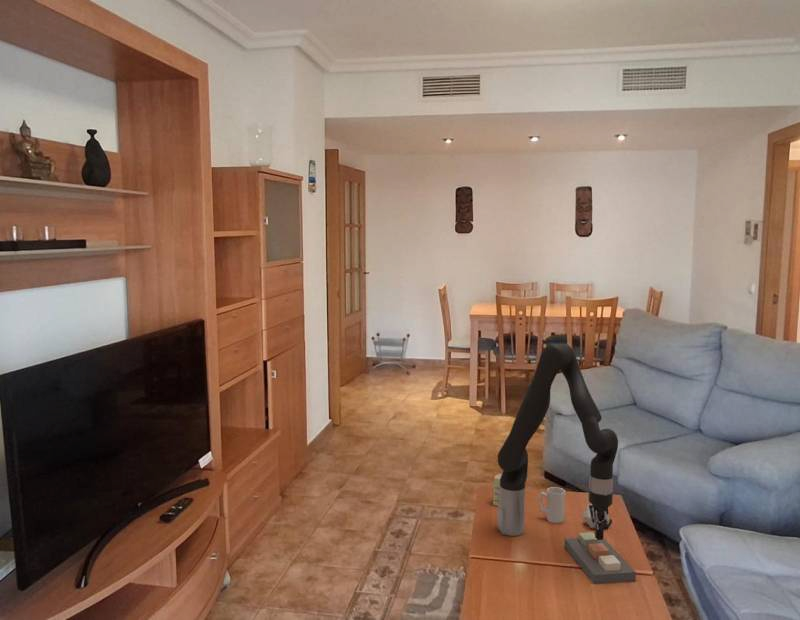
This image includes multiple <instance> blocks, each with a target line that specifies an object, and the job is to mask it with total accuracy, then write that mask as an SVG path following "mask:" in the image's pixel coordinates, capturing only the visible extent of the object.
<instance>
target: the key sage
mask: <svg viewBox="0 0 800 620" xmlns="http://www.w3.org/2000/svg"><path fill="white" fill-rule="evenodd" d="M578 538H579V539H578V541H579V542H580V544H581V545H582V546H583V547H588V544H598V540H597V539H596V538H595V533H593V532H591V531H589V532H588V531H587V532H578Z"/></svg>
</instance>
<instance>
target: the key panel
mask: <svg viewBox="0 0 800 620" xmlns="http://www.w3.org/2000/svg"><path fill="white" fill-rule="evenodd" d="M578 539H579V537H567V538H566V537H565V538H564V541H563V542H564V543H563V544H564V546H563V547H564V549H566V551H567V552H568V554H570V556H571V557H572V558H573V560H574V561H575V562H576V563H577V565H578V566H579V567H580V568H581V570H582V571H583V572H584V573H585V575H586V576H587V578H589V580H590V581H591V583H593V584H594V585H596V584H611V583H612V584H613V583H623V582H624V583H625V582H626V583H627V582H636V580H637V579H636V577H637V571H636V570H635V569H634V568H633V567H632V566H631V565H630V564H629V563H628V562H627V561H626V560H625V559H624V557H623V556H621V554H620V553H619V552H618V551H617V550H616V549H615V548H614V547H613V546H612V545H611V544H610V543H609V542H608V541H607V540H606V539H605V538H604V537H603V540H598V543H603V544H604V545H605V547H606V548H607V549H608V550H609V555H614V556H615V557H616V558H617V560H618V561H619V562H620V563H621V566H620V571H614V572H604V571H603V569H602V568H601V567H600V566H599V565H598V563H599V559H593V558H592V556H591V555H590V554H589V553H588V547H583V546H582V545H581V544H580V542H579V541H578Z"/></svg>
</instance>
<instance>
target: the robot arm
mask: <svg viewBox="0 0 800 620" xmlns="http://www.w3.org/2000/svg"><path fill="white" fill-rule="evenodd" d="M559 371H560V372H561V374H562V375H563V376H564V378H565V380H566V382H567V385H568V388H569V395H570V401H571V404H572V407H573V409H574V412H575V414H576V416H577V418H578V419H579V421H580V423H581V428H582V432H583V437H584V440H585V443H586V445H587V447H588V449H589V450H590V451H592V452H593V453H595V454H596V455H595V456H594V457H593V458H592V459H591V460H590V469H589V470H590V473H589V474H590V476H589V481H588V483H589V484H588V502H589V504H588V505H589V510H590V514H591V519H592V522H593V523H594V526H595V527H596V528H594V529H595V530H594V531H595V532H594V535H595V538H596V539H597V540H603V538H604V533H605V532H604V531H608V529H609V528H610V527H611V524H612V523H613V520H612V519H611V518H608V514H609V513H610V512H609V507H610V506H612V505H613V496H614V481H613V477H614V476H613V472H614V470H613V469H614V462H615V461H616V460H615V458H616V455H617V452H618V447H619V438H618V436H617V434H616V432H615V431H614V430H613V429H610V428H603V429H601V427H600V425H599V423H600V422H601V421H602V414H601V412H600V411H599V408H598V406H597V404H596V403H595V401H594V399H593V398H592V395H591V393H590V391H589V388H588V387H587V384H586V382H585V378H584V376H583V373H582V371H581V367H580V364H579V362H578V359H577V357H576V354H575V351H574V349H573V348H572V347H571V346H570V345H569V344H566V343H550V344H548V345H546V346H545V347H544V348H543V349H542V351H541V353H540V356H539V359H538V363H537V365H536V369H535V372H534V375H533V378H532V379H531V382H530V385H529V387H528V388H527V391H526V394H525V395H524V397H523V399H522V402H521V403H520V406H519V408H518V411H517V414H516V416H515V419H514V421H513V424H512V427H511V430H510V432H509V434H508V436H507V438H506V440H505V441H504V443H503V444H502V446H501V448H500V450H499V451H498V454H497V464H498V465H499V468H500V469H501V470H502V473H501V474H502V476H501V478H500V503H498V506H497V529H498V532H500V534H501V535H506V536H509V537H517V536H521V535H523V534H524V533H525V506H526V505H525V504H526V503H525V502H526V501H525V500H526V482H527V478H528V468H529V467H528V466H529V454H528V450H527V447H528V446H527V445H528V444H529V441H531V439H532V437H533V436H534V434H536V432H537V430H538V429H539V427H540V426H541V425H542V423H543V421H544V420H545V418H546V415H547V413H548V410H549V409H550V404H551V389H552V385H553V382H554V380H555V379H556V376H557V375H558V373H559ZM591 504H592V505H591ZM609 515H610V514H609Z"/></svg>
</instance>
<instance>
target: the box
mask: <svg viewBox="0 0 800 620" xmlns="http://www.w3.org/2000/svg"><path fill="white" fill-rule="evenodd" d="M501 476H502V473H497V474H496V475H495V476H494V478H493V496H492V498H493V499H492V501H493V502H492V504H493V506H496V507H498V503H500V478H501Z"/></svg>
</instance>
